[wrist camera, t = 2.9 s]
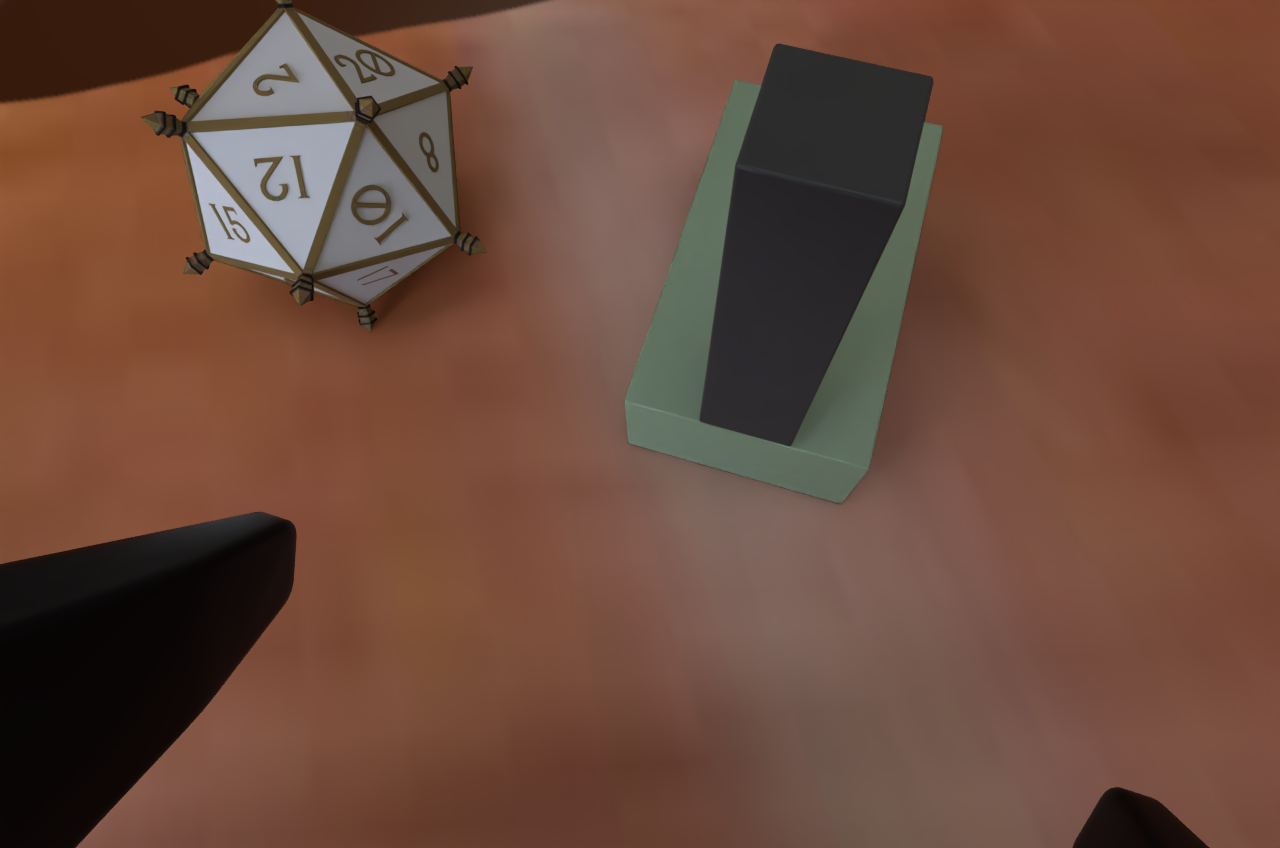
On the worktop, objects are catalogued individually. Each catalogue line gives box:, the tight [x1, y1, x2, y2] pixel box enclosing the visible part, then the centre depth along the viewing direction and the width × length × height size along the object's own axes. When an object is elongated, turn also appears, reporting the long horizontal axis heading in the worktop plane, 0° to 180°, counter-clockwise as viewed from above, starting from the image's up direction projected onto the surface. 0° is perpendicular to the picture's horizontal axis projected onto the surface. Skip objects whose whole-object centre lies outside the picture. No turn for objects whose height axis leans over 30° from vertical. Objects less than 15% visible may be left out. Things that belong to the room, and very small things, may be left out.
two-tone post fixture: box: [624, 44, 943, 504], centre depth 19 cm, size 11×6×13 cm, turn 163°
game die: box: [141, 0, 486, 332], centre depth 22 cm, size 9×8×10 cm
